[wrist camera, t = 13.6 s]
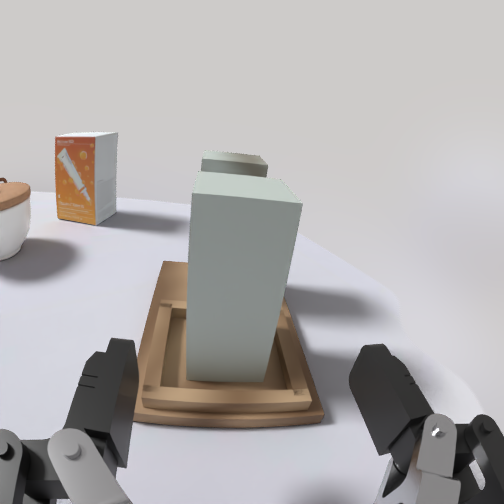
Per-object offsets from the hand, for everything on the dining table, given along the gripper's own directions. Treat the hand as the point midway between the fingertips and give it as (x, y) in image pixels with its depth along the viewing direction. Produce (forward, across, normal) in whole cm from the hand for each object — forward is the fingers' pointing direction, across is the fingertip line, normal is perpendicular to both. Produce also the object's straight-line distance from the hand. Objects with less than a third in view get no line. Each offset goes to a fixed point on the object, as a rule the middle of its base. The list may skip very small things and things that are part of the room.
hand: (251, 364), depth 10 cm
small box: (+37, +21, +9) cm, 43 cm away
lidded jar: (+23, +29, +9) cm, 38 cm away
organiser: (+13, 0, +9) cm, 16 cm away
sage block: (+8, 0, +8) cm, 12 cm away
